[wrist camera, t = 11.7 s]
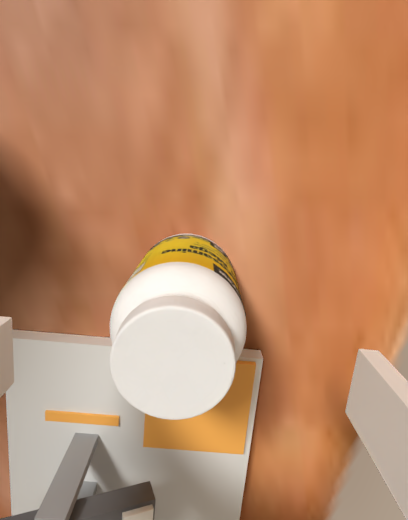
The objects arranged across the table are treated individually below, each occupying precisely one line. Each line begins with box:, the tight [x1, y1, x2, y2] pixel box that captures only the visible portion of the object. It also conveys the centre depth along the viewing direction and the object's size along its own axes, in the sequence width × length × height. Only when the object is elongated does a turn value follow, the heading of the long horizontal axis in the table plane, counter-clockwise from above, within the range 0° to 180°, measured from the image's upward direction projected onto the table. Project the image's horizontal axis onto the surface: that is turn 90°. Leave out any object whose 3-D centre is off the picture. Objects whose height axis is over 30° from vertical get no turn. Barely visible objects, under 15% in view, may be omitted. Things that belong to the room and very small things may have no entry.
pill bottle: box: [110, 234, 247, 420], centre depth 19 cm, size 6×6×11 cm
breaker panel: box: [6, 329, 263, 520], centre depth 24 cm, size 17×18×8 cm
